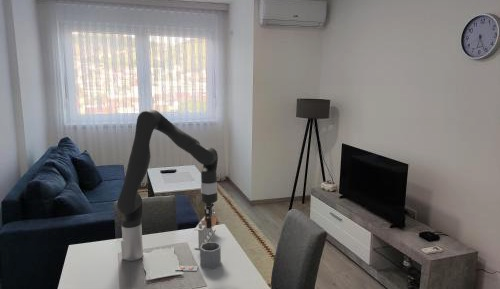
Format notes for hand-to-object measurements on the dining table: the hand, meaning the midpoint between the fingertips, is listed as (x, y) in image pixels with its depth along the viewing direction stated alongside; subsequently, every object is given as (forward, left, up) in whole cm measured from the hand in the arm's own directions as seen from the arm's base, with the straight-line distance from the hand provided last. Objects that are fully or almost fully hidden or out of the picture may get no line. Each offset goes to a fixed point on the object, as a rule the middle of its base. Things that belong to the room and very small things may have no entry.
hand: (210, 225), depth 164 cm
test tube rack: (-7, +26, -20) cm, 34 cm away
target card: (-11, -5, -20) cm, 23 cm away
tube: (0, 0, -20) cm, 20 cm away
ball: (0, 0, +2) cm, 2 cm away
